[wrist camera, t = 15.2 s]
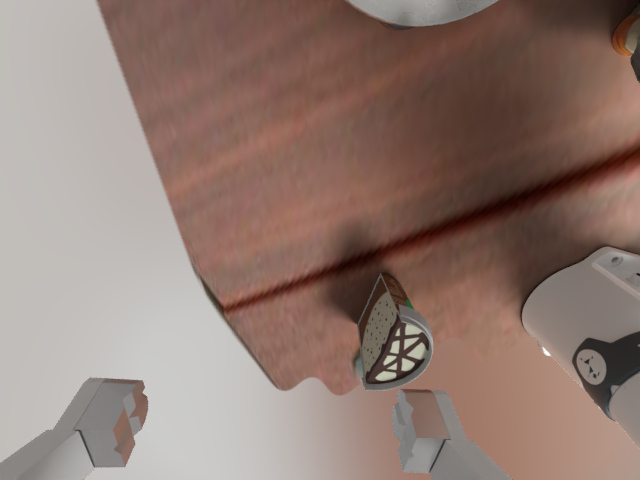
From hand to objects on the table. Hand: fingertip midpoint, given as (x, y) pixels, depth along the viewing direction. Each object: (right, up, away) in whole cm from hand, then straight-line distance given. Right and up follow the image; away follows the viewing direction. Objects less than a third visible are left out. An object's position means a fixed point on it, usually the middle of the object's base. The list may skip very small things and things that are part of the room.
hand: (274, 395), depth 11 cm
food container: (+11, -4, +36) cm, 38 cm away
